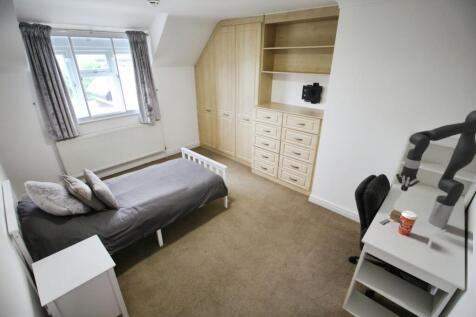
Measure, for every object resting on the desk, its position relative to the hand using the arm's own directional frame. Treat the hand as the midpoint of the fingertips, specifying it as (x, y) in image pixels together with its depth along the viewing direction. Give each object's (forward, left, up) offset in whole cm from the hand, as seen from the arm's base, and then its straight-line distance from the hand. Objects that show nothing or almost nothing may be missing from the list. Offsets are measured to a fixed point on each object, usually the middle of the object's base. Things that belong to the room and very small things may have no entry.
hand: (403, 190), depth 142 cm
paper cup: (+8, +10, -23) cm, 27 cm away
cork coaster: (-2, -1, -23) cm, 23 cm away
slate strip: (+8, -2, -23) cm, 24 cm away
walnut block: (-2, -1, -23) cm, 23 cm away
